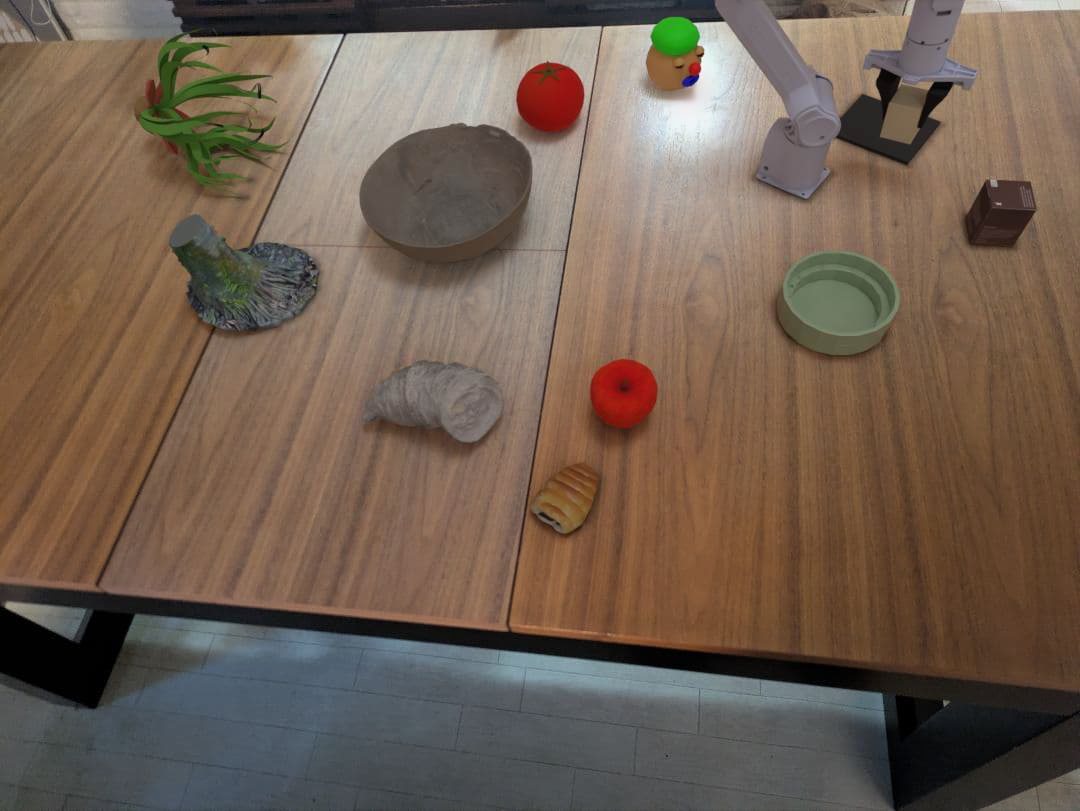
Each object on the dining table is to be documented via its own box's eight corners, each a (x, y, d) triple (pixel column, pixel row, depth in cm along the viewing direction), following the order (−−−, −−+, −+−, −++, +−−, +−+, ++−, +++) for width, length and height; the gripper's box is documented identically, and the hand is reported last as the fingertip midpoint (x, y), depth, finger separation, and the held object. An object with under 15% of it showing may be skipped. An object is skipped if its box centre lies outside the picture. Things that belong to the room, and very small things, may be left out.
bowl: (565, 187, 120) (560, 138, 111) (492, 307, 108) (481, 262, 100) (426, 154, 128) (412, 106, 120) (345, 261, 116) (323, 216, 108)
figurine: (634, 85, 132) (636, 23, 122) (673, 63, 135) (677, 0, 124) (676, 113, 127) (681, 50, 117) (715, 89, 129) (723, 26, 119)
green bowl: (756, 323, 102) (762, 301, 97) (809, 258, 107) (817, 234, 103) (855, 375, 96) (866, 354, 91) (907, 304, 101) (919, 280, 97)
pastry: (568, 458, 93) (566, 445, 90) (612, 483, 91) (611, 471, 88) (527, 514, 90) (524, 503, 87) (571, 542, 87) (570, 531, 84)
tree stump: (318, 329, 110) (238, 261, 95) (212, 361, 115) (120, 301, 100) (324, 240, 118) (252, 163, 103) (226, 273, 124) (144, 205, 108)
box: (1013, 248, 104) (1038, 210, 98) (968, 245, 105) (990, 207, 99) (1007, 218, 107) (1031, 180, 101) (964, 215, 108) (985, 177, 102)
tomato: (596, 111, 130) (594, 57, 121) (561, 151, 125) (556, 99, 116) (544, 95, 134) (539, 42, 125) (509, 133, 129) (500, 81, 120)
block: (879, 137, 107) (889, 102, 102) (891, 118, 109) (901, 83, 104) (910, 144, 105) (921, 109, 100) (921, 126, 107) (933, 90, 102)
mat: (827, 134, 120) (828, 131, 120) (861, 96, 124) (862, 93, 124) (906, 165, 115) (908, 162, 114) (939, 124, 119) (941, 121, 118)
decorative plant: (193, 140, 146) (326, 139, 140) (122, 205, 129) (270, 208, 123) (127, 2, 127) (277, -5, 121) (35, 58, 111) (204, 53, 105)
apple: (636, 452, 93) (637, 423, 86) (578, 424, 96) (575, 394, 89) (667, 401, 96) (670, 369, 90) (610, 376, 99) (610, 343, 93)
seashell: (363, 425, 99) (338, 387, 91) (434, 356, 104) (418, 314, 96) (443, 489, 93) (425, 454, 84) (516, 412, 98) (506, 372, 89)
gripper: (863, 39, 96) (844, 124, 107) (977, 61, 89) (945, 149, 101) (883, 10, 98) (863, 96, 109) (996, 29, 92) (962, 118, 103)
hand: (903, 119), depth 105 cm, fingers closed on block, 4 cm apart
